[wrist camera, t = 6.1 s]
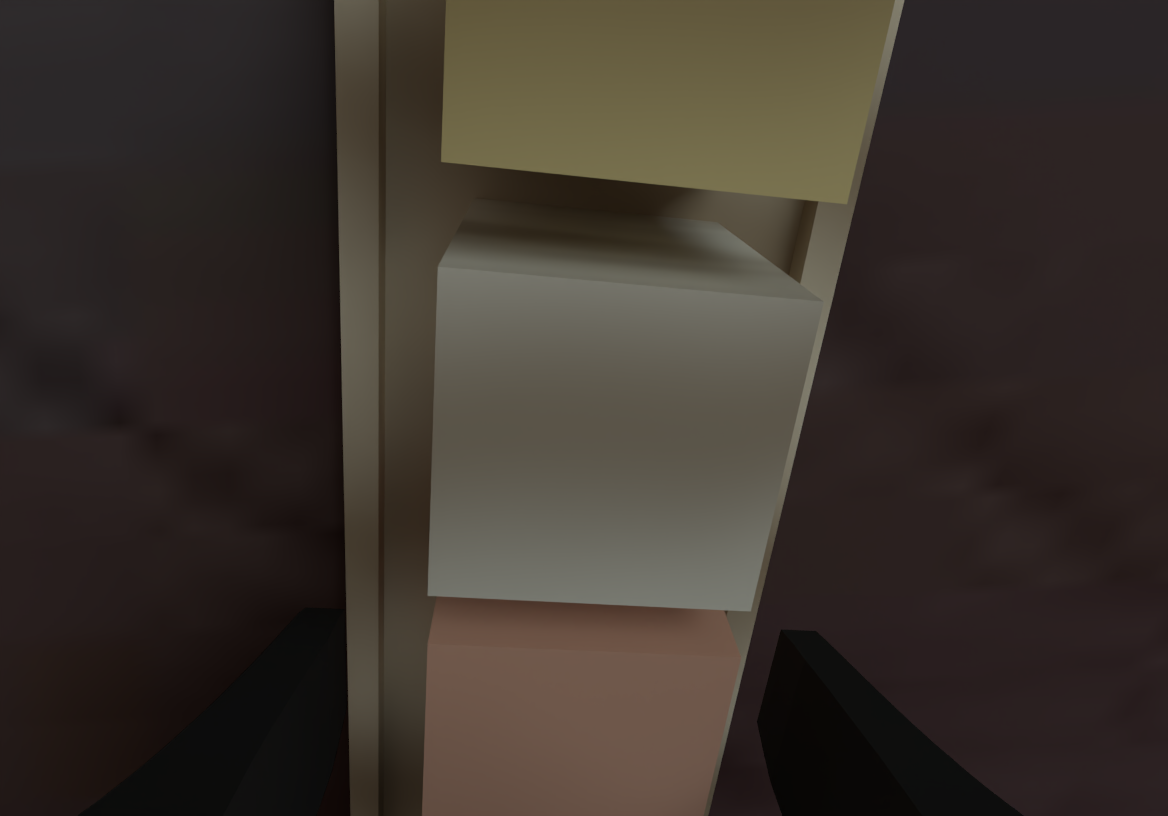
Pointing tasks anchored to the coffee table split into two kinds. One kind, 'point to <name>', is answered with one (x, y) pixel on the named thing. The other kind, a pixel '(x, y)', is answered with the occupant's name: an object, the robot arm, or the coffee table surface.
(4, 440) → the coffee table surface
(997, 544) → the coffee table surface
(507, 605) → the terracotta block
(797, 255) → the rack
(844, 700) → the robot arm
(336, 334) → the coffee table surface
